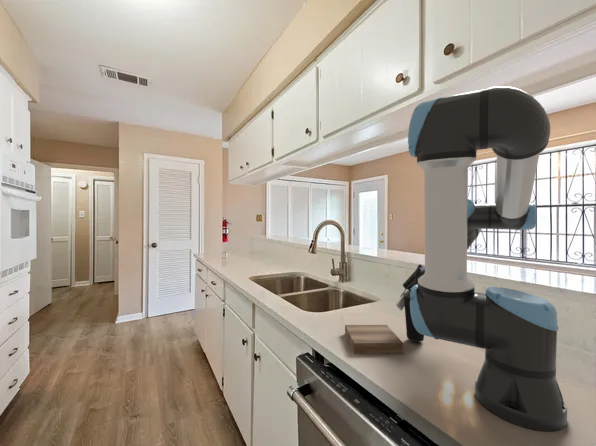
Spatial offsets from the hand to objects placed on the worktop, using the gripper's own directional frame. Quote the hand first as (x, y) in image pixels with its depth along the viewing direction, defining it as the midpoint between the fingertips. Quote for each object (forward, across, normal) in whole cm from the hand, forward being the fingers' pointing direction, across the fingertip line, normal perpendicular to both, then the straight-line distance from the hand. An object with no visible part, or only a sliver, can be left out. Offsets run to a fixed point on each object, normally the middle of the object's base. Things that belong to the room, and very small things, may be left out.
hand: (406, 310), depth 90 cm
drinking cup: (+4, 0, -9) cm, 10 cm away
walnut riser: (+14, +4, 0) cm, 15 cm away
